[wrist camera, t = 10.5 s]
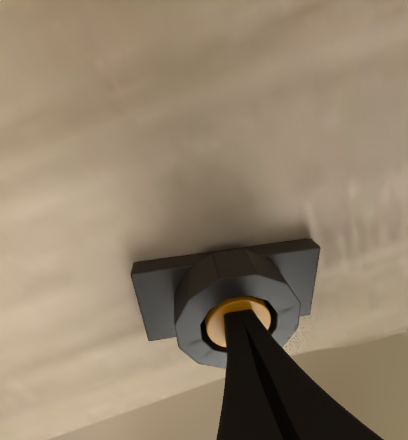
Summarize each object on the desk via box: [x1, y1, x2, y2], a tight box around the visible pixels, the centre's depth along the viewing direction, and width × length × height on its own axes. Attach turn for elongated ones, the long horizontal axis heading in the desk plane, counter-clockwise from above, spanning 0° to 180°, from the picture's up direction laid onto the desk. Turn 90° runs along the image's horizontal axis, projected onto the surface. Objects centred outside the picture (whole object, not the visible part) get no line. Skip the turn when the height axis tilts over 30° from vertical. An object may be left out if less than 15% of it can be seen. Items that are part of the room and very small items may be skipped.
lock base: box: [131, 239, 320, 368], centre depth 13 cm, size 10×6×3 cm, turn 95°
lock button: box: [205, 295, 271, 347], centre depth 12 cm, size 3×3×2 cm
